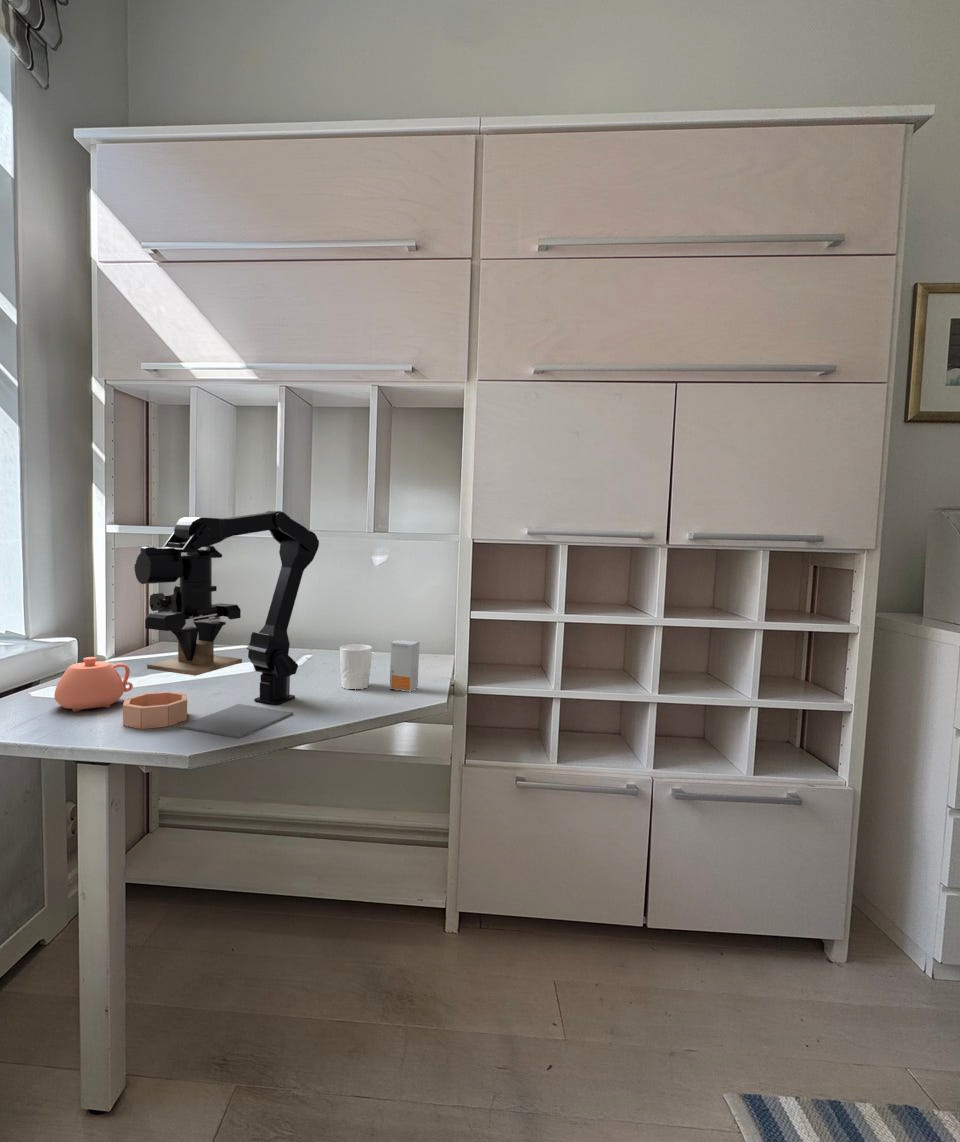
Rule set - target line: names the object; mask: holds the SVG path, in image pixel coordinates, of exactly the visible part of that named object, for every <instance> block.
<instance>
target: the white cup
mask: <svg viewBox="0 0 960 1142" xmlns="http://www.w3.org/2000/svg"><path fill="white" fill-rule="evenodd" d="M372 654H373V646H371V645H368V644H359V643H357V644H355V643H351V644H344V645H341V646H340V647H339V663H340V664H339V665H340V678H341V682H340V683H341V688H342V687H343V688H342V689H344V688H345V689H344V690H348V689H355V690H354V691H357V690H356V689H361V690H365V689H364V688H366V689H367V688H369V687H368V686H370V675H371V671H372V670H371V667H372V657H373V656H372Z"/></svg>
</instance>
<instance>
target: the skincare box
mask: <svg viewBox="0 0 960 1142" xmlns="http://www.w3.org/2000/svg"><path fill="white" fill-rule="evenodd" d="M390 644H391V645H390V665H389V667H390V671H389V690H390V689H395V690H394V691H398V690H404V691H413V690H414V689H416V688H417V687H418V686H419V661H420V660H419V659H420V641H413V640H402V639H396V640H394V641H392V642H391V643H390ZM417 689H418V688H417ZM417 689H416V690H417ZM404 691H403V692H404ZM414 691H415V690H414ZM414 691H413V692H414Z"/></svg>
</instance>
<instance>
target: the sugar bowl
mask: <svg viewBox="0 0 960 1142" xmlns="http://www.w3.org/2000/svg"><path fill="white" fill-rule="evenodd" d="M97 660H98V658H97V656H96V657H95V656H88V657H83V658H82V661H83V662H78V663H73V664H71V665H69V666H68V667H67V668H66V670H65V671H64V673H63V674H62V675H61V677H60V679H59V680H58V682H57V684H56V687H55V691H54V696H53V697H54V701H55V702H56V703H57V704H58V705H59V706H61V708H64V709H71V710H73V711H72V712H81V711H80V710H82V711H84V710H86V709H94V708H101V707H105V708H109V706H110V705H112V704H114V703H117V701H118V700H119V699H120V698H121V697H122V696H123V694H124V692H125V693H127V692H129V691H132V690H133V688H134V686H133V683H132V682H131V681H128V680H129V677H130V674H131V673H130V672H131V669H130V667H129V666H128V665H127V664H125V663H122V662H118V663H115V664H111V663H110V662H107V661H101V660H100V661H97ZM119 667H120V668H124V672H125V673H124V677H123V679H122V677H121V675H120V674H119V672H118V671H117V669H116V668H119ZM127 686H128V687H127ZM110 707H111V706H110ZM83 709H84V710H83Z"/></svg>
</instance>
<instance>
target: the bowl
mask: <svg viewBox="0 0 960 1142" xmlns="http://www.w3.org/2000/svg"><path fill="white" fill-rule="evenodd" d="M187 720H188V694H187V693H182V692H178V691H169V690H167V691H159V692H158V691H157V692H155V691H154V692H146V693H141V694H137V695H133V696H130V697H127V698H125V699H124V701H123V704H122V726H123V725H125V726H124V727H128V726H129V728H135V729H140V730H144V729H154V728H163V727H165V728H166V727H170V726H173V725H177V724H178V722H179V723H181V721H182V722H183V721H184V722H185V721H187Z"/></svg>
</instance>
